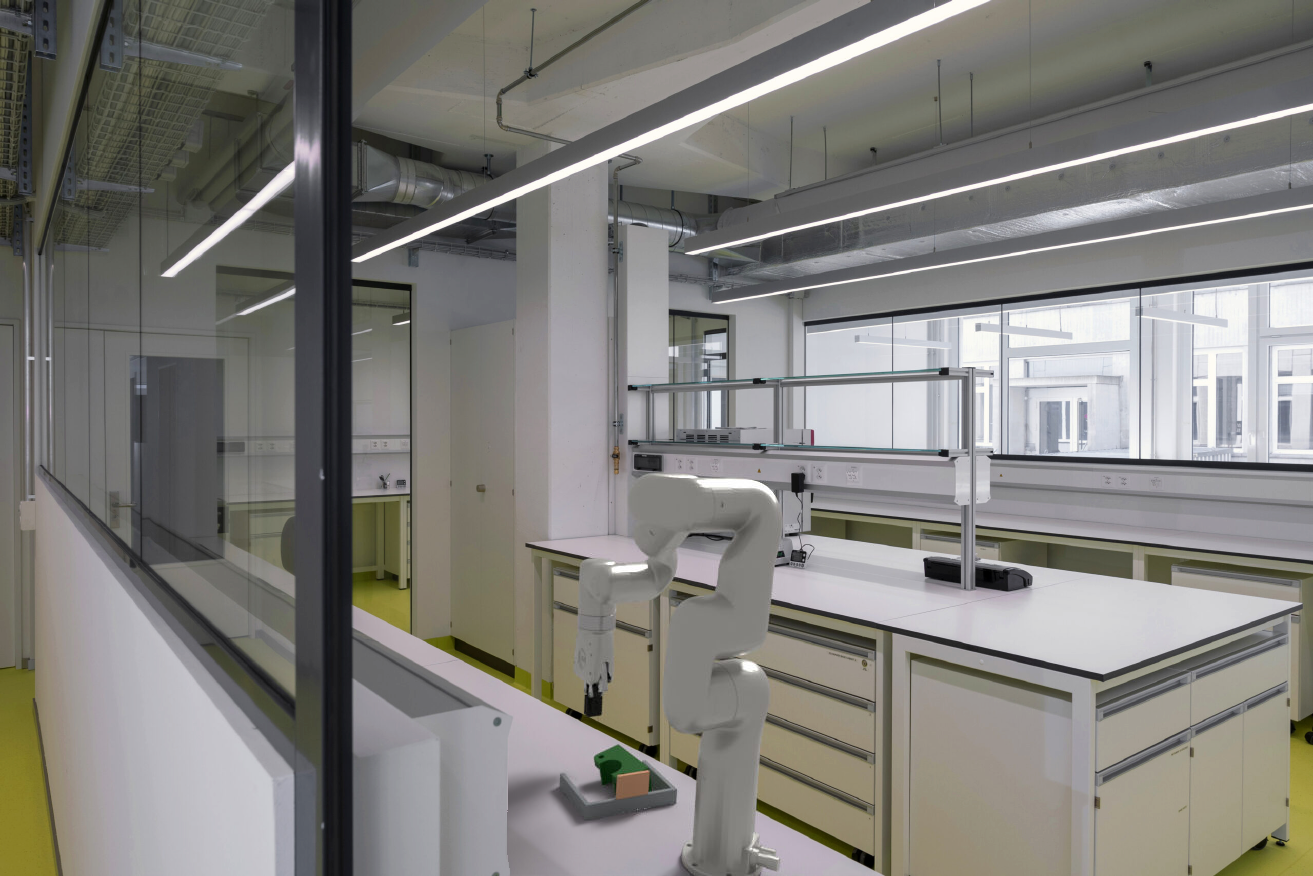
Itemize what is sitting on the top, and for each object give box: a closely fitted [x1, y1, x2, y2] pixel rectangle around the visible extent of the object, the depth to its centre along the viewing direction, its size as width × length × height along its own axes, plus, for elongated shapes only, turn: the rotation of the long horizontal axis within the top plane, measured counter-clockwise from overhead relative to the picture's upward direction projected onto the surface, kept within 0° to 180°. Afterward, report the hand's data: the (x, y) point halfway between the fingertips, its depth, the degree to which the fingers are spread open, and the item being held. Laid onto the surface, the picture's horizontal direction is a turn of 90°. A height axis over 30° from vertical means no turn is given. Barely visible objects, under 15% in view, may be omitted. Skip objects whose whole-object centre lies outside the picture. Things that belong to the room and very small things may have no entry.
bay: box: [558, 759, 678, 821], centre depth 142 cm, size 13×18×6 cm
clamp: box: [593, 744, 653, 797], centre depth 144 cm, size 12×6×9 cm, turn 28°
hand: (592, 715), depth 154 cm, fingers closed
